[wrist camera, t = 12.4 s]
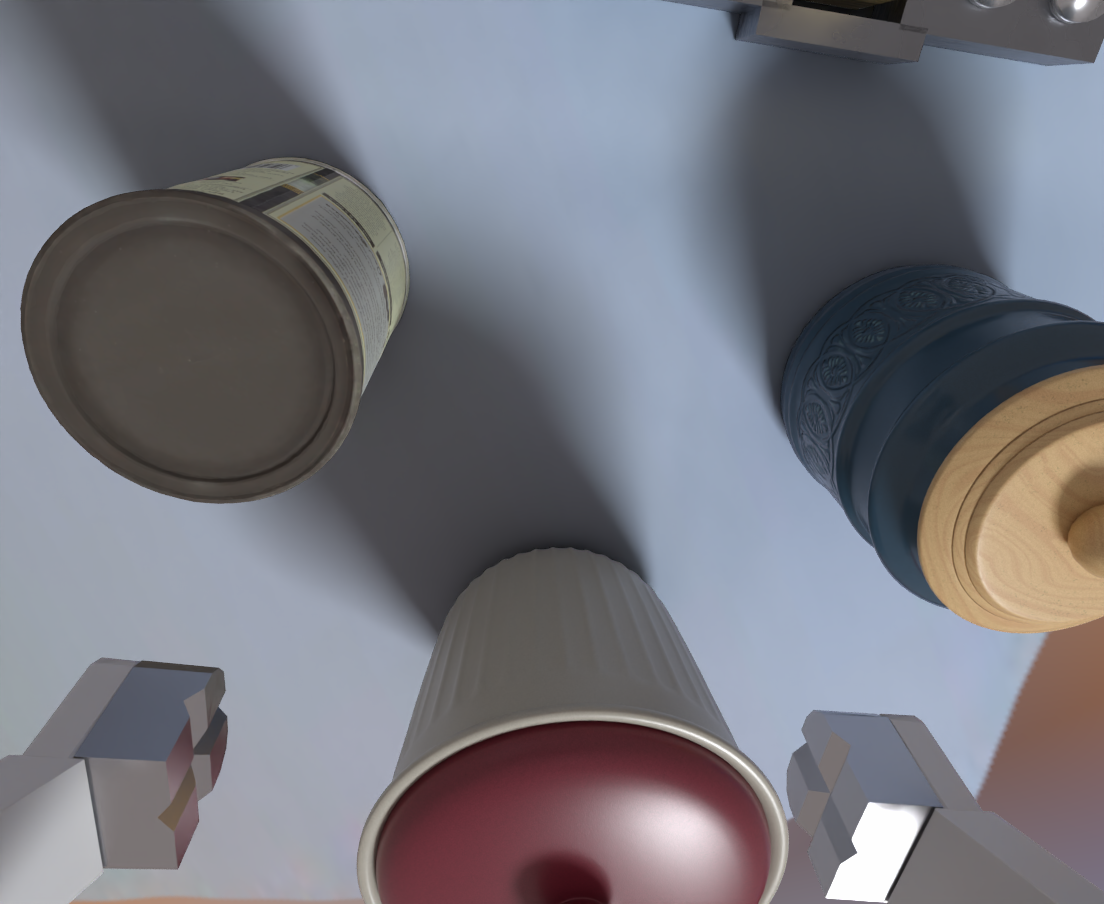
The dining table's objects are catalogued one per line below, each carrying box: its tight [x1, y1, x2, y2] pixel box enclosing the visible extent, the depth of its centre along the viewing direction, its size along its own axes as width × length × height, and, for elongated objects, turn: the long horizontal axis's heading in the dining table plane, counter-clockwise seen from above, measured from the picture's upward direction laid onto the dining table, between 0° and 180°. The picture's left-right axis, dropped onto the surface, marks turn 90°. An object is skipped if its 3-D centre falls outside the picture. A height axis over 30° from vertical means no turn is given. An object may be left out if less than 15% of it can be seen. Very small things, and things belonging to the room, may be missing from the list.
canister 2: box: [781, 265, 1104, 633], centre depth 32 cm, size 13×13×18 cm
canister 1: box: [357, 547, 789, 904], centre depth 36 cm, size 18×18×21 cm
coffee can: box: [20, 157, 410, 504], centre depth 30 cm, size 10×10×14 cm
